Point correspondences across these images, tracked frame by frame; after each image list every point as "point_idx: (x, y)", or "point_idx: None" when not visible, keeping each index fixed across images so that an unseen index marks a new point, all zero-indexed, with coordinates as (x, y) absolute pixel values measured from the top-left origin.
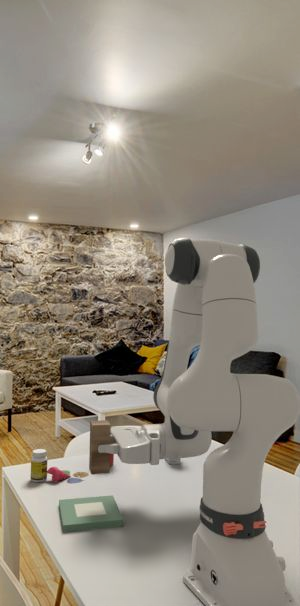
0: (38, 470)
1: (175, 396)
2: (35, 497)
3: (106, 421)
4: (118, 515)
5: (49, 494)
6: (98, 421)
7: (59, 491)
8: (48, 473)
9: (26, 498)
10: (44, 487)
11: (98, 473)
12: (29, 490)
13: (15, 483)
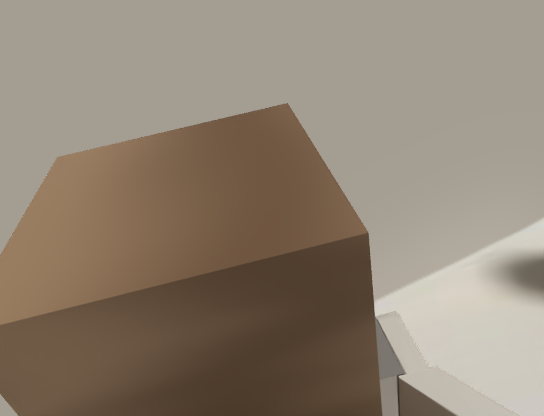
0: None
1: None
2: (427, 311)
3: (255, 233)
4: None
5: (472, 346)
6: (257, 156)
7: (521, 376)
8: None
9: (410, 290)
10: (534, 313)
11: None
12: (481, 279)
13: (521, 231)
